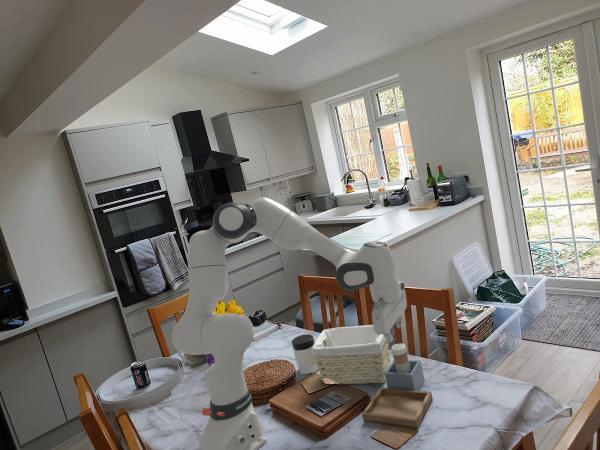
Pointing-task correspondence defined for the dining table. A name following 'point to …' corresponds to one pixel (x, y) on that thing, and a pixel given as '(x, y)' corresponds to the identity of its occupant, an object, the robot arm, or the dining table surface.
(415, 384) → the blue-grey square bin
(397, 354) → the sprinkles bottle
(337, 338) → the storage basket
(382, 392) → the tray
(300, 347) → the jar
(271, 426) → the dining table surface
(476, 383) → the dining table surface
